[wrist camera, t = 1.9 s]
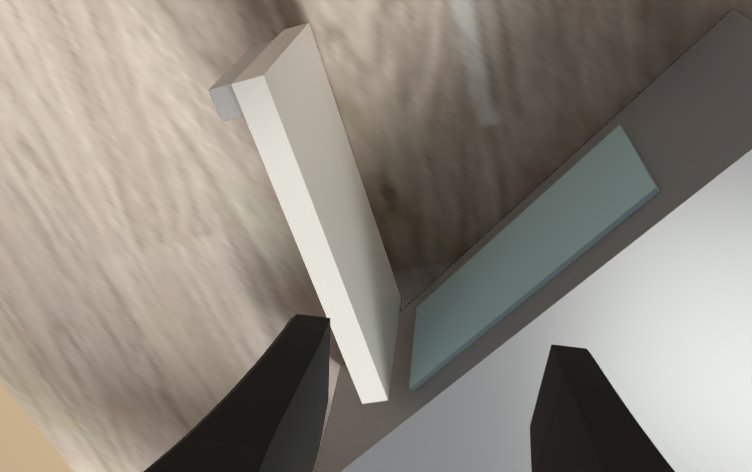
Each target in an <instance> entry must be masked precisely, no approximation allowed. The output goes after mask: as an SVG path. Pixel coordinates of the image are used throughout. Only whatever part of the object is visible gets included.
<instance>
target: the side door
mask: <svg viewBox="0 0 752 472" xmlns="http://www.w3.org/2000/svg"><path fill="white" fill-rule="evenodd" d="M209 92H210V95H211V97H212V99H213V102H214V104H215V106H216V109H217V111H218V113H219V116H220V118H221V120H222V121H225V120H229V119H233V118H237V117H241V116H244V117H245V119H246V122H247V124H248V127H249V129H250V132H251V134H252V136H253V139H254V141H255V144H256V146H257V149H258V151H259V154H260V156H261V158H262V161H263V163H264V166H265V168H266V171H267V173H268V175H269V178H270V180H271V183H272V185H273V188H274V190H275V193H276V195H277V197H278V200H279V202H280V205H281V207H282V210H283V212H284V214H285V217H286V219H287V222H288V224H289V227H290V229H291V231H292V234H293V236H294V239H295V241H296V244H297V246H298V249H299V251H300V253H301V256H302V258H303V261H304V263H305V266H306V268H307V270H308V273H309V275H310V278H311V280H312V283H313V285H314V288H315V290H316V292H317V295H318V297H319V300H320V302H321V305H322V307H323V309H324V312H325V314H326V317H327V318H330V327H331V329H332V331H333V334H334V336H335V339H336V341H337V344H338V346H339V348H340V351H341V353H342V356H343V358H344V361H345V363H346V366H347V368H348V370H349V373H350V375H351V378H352V380H353V383H354V385H355V387H356V390H357V392H358V395H359V397H360V400H361V402H362V404H365V403H373V402H380V401H388V397H389V390H390V382H391V374H392V367H393V359H394V351H395V344H396V336H397V328H398V320H399V313H400V305H401V296H400V293H399V290H398V287H397V284H396V281H395V278H394V275H393V272H392V269H391V266H390V263H389V260H388V257H387V254H386V251H385V248H384V245H383V242H382V239H381V236H380V233H379V230H378V227H377V224H376V221H375V218H374V215H373V212H372V210H371V207H370V204H369V201H368V198H367V195H366V192H365V189H364V186H363V183H362V180H361V177H360V174H359V171H358V168H357V165H356V162H355V159H354V156H353V153H352V150H351V147H350V144H349V141H348V138H347V135H346V132H345V129H344V126H343V123H342V120H341V117H340V114H339V111H338V108H337V105H336V102H335V99H334V96H333V93H332V90H331V87H330V84H329V81H328V78H327V75H326V72H325V69H324V66H323V63H322V60H321V57H320V54H319V51H318V48H317V45H316V42H315V39H314V36H313V33H312V30H311V27H310V24H309V23H305V24H302V25H299V26H295V27H292V28H288V29H285V30H283V31H282V32H281V33H280V34H279V35H278V36H277V37H276V38H275V39H274V40H270V41H267V42H263V43H260V44H256V45H254V46H253V47H252V48H251V49H250V50H249V51H248V52H247V53H246V54H245V55H244V56H243V57H242V58H241V59H240V60H239V61H238V62H237V63H236V64H235V65H234V66H233V67H232V68H230V69H229V70H228V71H227V72H226V73H225V74H224V75H223V76H222V77H221V78H220V79H219V80H218V81H217V82H216V83H215V84H214V85H213V86H212V87H211V88H210V89H209Z"/></svg>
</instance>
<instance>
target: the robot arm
mask: <svg viewBox="0 0 752 472" xmlns="http://www.w3.org/2000/svg"><path fill="white" fill-rule="evenodd" d="M329 351H330V318H324V317H316V316H307V315H299V314H297V315H295V316H294V317H293V318H291V319H290V321H289V322H288V323H287V325H286V326H285V328H284V329H283V330H282V332H281V333H280V334H279V335H278V337H277V338H276V339H275V341H274V342H273V343H272V344H271V346H270V347H269V348H268V349H267V351H266V352H265V353H264V354H263V355H262V357H261V358H260V359H259V360H258V361H257V362H256V364H255V365H254V366H253V367H252V368H251V369H250V370H249V371H248V373H247V374H246V375H245V376H244V377H243V378H242V379H241V380H240V381H239V383H238V384H237V385H236V386H235V387H234V388H233V389H232V390H231V391H230V392H229V394H228V395H227V396H226V397H225V398H224V399H223V400H222V401H221V402H220V403H219V404H218V405H217V406H216V407H215V408H214V409H213V410H212V411H211V412H210V413H209V414H208V415H207V416H206V417H205V418H204V419H202V420H201V421H200V422H199V423H198V424H197V425H196V426H195V427H194V428H193V429H192V430H191V431H190V432H189V433H188V434H187V435H186V436H185V437H183V438H182V439H181V440H180V441H179V442H178V443H177V444H176V445H175V446H173V447H172V448H171V449H170V450H169V451H168V452H166V453H165V454H164V455H163V456H162V457H161V458H159V459H158V460H157V461H156V462H155V463H153V464H152V465H151V466H150V467H149V468H147V469H146V470H145V471H144V472H312V471H313V467H314V464H315V461H316V457H317V454H318V450H319V445H320V440H321V435H322V430H323V425H324V419H325V414H326V409H327V404H328V386H329ZM530 445H531V467H532V472H675V471H674V470H673V468H672V467H671V466H670V465H669V463H668V462H667V461H666V459H665V458H664V457H663V456H662V454H661V453H660V452H659V450H658V449H657V448H656V446H655V445H654V444H653V442H652V441H651V440H650V438H649V437H648V436H647V434H646V433H645V431H644V430H643V429H642V427H641V426H640V425H639V423H638V422H637V421H636V419H635V418H634V416H633V415H632V414H631V412H630V411H629V409H628V408H627V406H626V405H625V404H624V402H623V401H622V399H621V398H620V396H619V395H618V393H617V392H616V390H615V389H614V388H613V386H612V385H611V383H610V382H609V380H608V379H607V377H606V376H605V374H604V373H603V371H602V370H601V368H600V367H599V365H598V364H597V362H596V361H595V359H594V358H593V356H592V355H591V353H590V352H589V351H588V349H586V348H578V347H569V346H561V345H552V344H551V348H550V352H549V356H548V359H547V363H546V367H545V371H544V375H543V378H542V382H541V386H540V390H539V393H538V397H537V401H536V405H535V409H534V412H533V416H532V420H531V424H530Z"/></svg>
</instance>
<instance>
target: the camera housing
mask: <svg viewBox="0 0 752 472" xmlns="http://www.w3.org/2000/svg"><path fill="white" fill-rule="evenodd" d="M551 344H552V345H561V346H569V347H578V348H586V349H588V351H589V352H590V353H591V355H592V356H593V358H594V359H595V361H596V362H597V364H598V365H599V367H600V368H601V370H602V371H603V373H604V374H605V376H606V377H607V379H608V380H609V382H610V383H611V385H612V386H613V388H614V389H615V390H616V392H617V393H618V395H619V396H620V398H621V399H622V401H623V402H624V404H625V405H626V406H627V408H628V409H629V411H630V412H631V414H632V415H633V416H634V418H635V419H636V421H637V422H638V423H639V425H640V426H641V427H642V429H643V430H644V431H645V433H646V434H647V436H648V437H649V438H650V440H651V441H652V442H653V444H654V445H655V446H656V448H657V449H658V450H659V452H660V453H661V454H662V456H663V457H664V458H665V459H666V461H667V462H668V463H669V465H670V466H671V467H672V468H673V470H674V471H675V472H752V20H750V19H749V18H747V17H745V16H744V15H742V14H740V13H739V12H737V11H735V10H734V9H732V10H731V11H730V12H729V13H728V14H727V15H726V16H725V17H724V18H722V19H721V20H720V21H719V22H718V23H717V24H716V25H715V26H714V27H713V28H711V29H710V30H709V31H708V32H707V33H706V34H705V35H704V36H703V37H702V38H700V39H699V40H698V41H697V42H696V43H695V44H694V45H693V46H692V47H691V48H690V49H688V50H687V51H686V52H685V53H684V54H683V55H682V56H681V57H680V58H679V59H677V60H676V61H675V62H674V63H673V64H672V65H671V66H670V67H669V68H668V69H666V70H665V71H664V72H663V73H662V74H661V75H660V76H659V77H658V78H657V79H656V80H654V81H653V82H652V83H651V84H650V85H649V86H648V87H647V88H646V89H645V90H643V91H642V92H641V93H640V94H639V95H638V96H637V97H636V98H635V99H634V100H632V101H631V102H630V103H629V104H628V105H627V106H626V107H625V108H624V109H623V110H622V111H620V112H619V113H618V114H617V115H616V116H615V117H614V118H613V119H612V120H611V121H609V122H608V123H607V124H606V125H605V126H604V127H603V128H602V129H601V130H600V131H598V132H597V133H596V134H595V135H594V136H593V137H592V138H591V139H590V140H589V141H588V142H586V143H585V144H584V145H583V146H582V147H581V148H580V149H579V150H578V151H577V152H575V153H574V154H573V155H572V156H571V157H570V158H569V159H568V160H567V161H566V162H564V163H563V164H562V165H561V166H560V167H559V168H558V169H557V170H556V171H555V172H554V173H552V174H551V175H550V176H549V177H548V178H547V179H546V180H545V181H544V182H543V183H541V184H540V185H539V186H538V187H537V188H536V189H535V190H534V191H533V192H532V193H530V194H529V195H528V196H527V197H526V198H525V199H524V200H523V201H522V202H521V203H520V204H518V205H517V206H516V207H515V208H514V209H513V210H512V211H511V212H510V213H509V214H507V215H506V216H505V217H504V218H503V219H502V220H501V221H500V222H499V223H498V224H496V225H495V226H494V227H493V228H492V229H491V230H490V231H489V232H488V233H487V234H486V235H484V236H483V237H482V238H481V239H480V240H479V241H478V242H477V243H476V244H475V245H473V246H472V247H471V248H470V249H469V250H468V251H467V252H466V253H465V254H464V255H463V256H461V257H460V258H459V259H458V260H457V261H456V262H455V263H454V264H453V265H452V266H450V267H449V268H448V269H447V270H446V271H445V272H444V273H443V274H442V275H441V276H439V277H438V278H437V279H436V280H435V281H434V282H433V283H432V284H431V285H430V286H429V287H427V288H426V289H425V290H424V291H423V292H422V293H421V294H420V295H419V296H418V297H416V298H415V299H414V300H413V301H412V302H411V303H410V304H409V305H408V306H407V307H405V308H404V309H403V310H402V311H401V312H400V313H399V320H398V328H397V336H396V344H395V351H394V359H393V367H392V374H391V382H390V390H389V397H388V401H380V402H373V403H365V404H362V402H361V400H360V397H359V395H358V392H357V390H356V387H355V385H354V383H353V380H352V378H351V375H350V373H349V370H348V368H347V366H346V363H344V364H343V365H342V366H341V367H340V370H339V375H338V379H337V383H336V388H335V392H334V396H333V401H332V405H331V409H330V414H329V418H328V422H327V427H326V431H325V435H324V440H323V444H322V448H321V453H320V457H319V461H318V466H317V470H316V472H532V467H531V445H530V424H531V420H532V416H533V412H534V409H535V405H536V401H537V397H538V393H539V390H540V386H541V382H542V378H543V375H544V371H545V367H546V363H547V359H548V356H549V352H550V348H551Z"/></svg>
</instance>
